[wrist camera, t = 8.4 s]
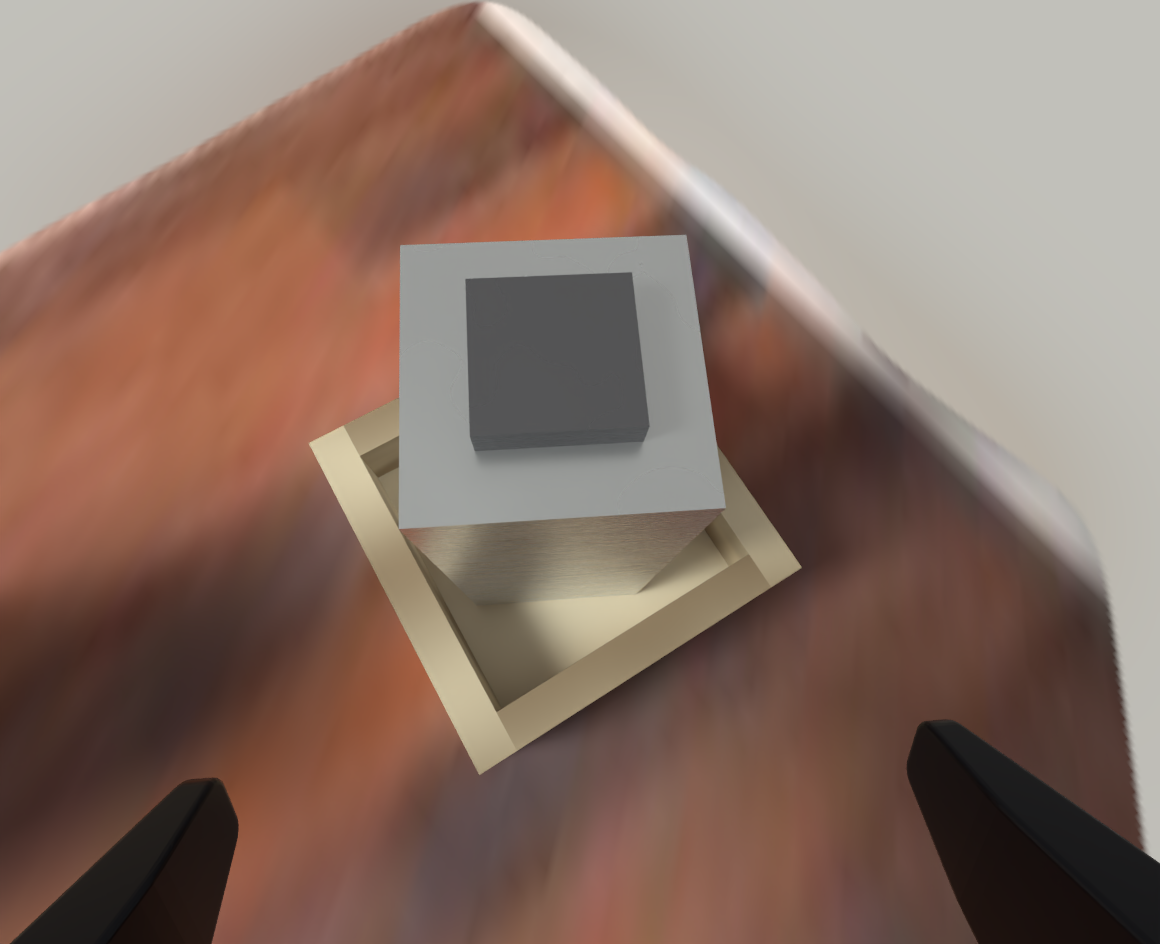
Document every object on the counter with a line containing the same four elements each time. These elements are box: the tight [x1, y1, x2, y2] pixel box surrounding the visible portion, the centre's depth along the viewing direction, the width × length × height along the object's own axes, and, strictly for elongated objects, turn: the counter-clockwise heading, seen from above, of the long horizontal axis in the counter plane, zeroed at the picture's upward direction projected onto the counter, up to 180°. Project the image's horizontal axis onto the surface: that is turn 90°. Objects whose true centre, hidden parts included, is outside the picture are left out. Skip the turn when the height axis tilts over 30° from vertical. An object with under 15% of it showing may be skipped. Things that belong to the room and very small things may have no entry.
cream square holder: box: [309, 398, 802, 775], centre depth 19 cm, size 10×10×3 cm
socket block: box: [399, 235, 726, 606], centre depth 14 cm, size 4×4×11 cm
